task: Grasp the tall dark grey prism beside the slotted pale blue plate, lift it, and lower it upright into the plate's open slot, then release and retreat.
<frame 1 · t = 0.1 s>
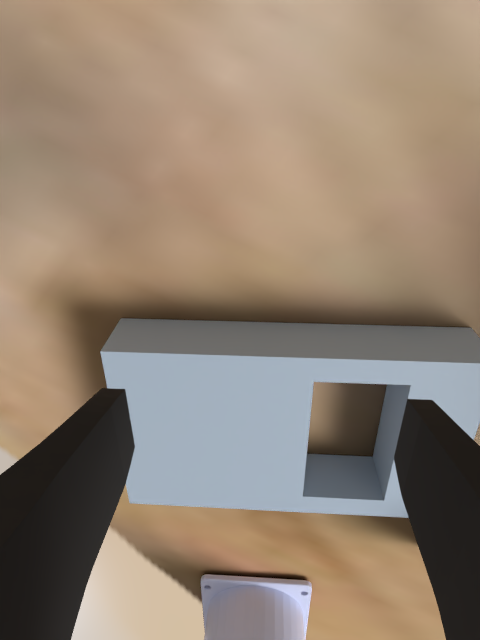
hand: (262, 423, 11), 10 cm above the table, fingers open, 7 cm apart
slotted pale blue plate: (287, 402, 24), on the table
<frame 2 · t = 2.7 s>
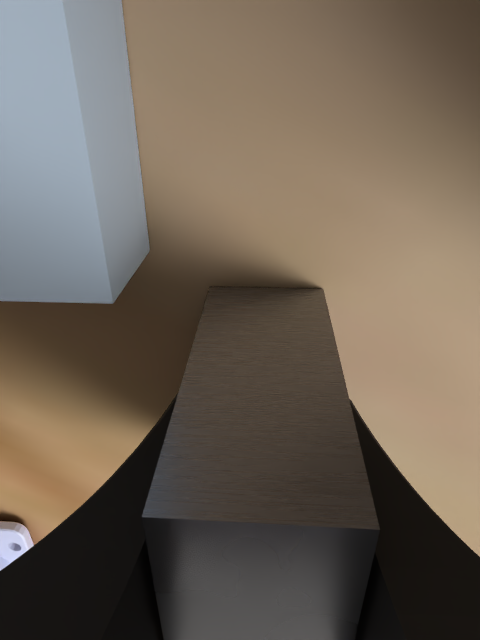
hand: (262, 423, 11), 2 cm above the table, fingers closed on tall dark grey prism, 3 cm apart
tall dark grey prism: (263, 379, 13), on the table, touching gripper
when the fingers open (4 cm above the table, at t = 5.8 s): tall dark grey prism stays where it is, resting in slotted pale blue plate.
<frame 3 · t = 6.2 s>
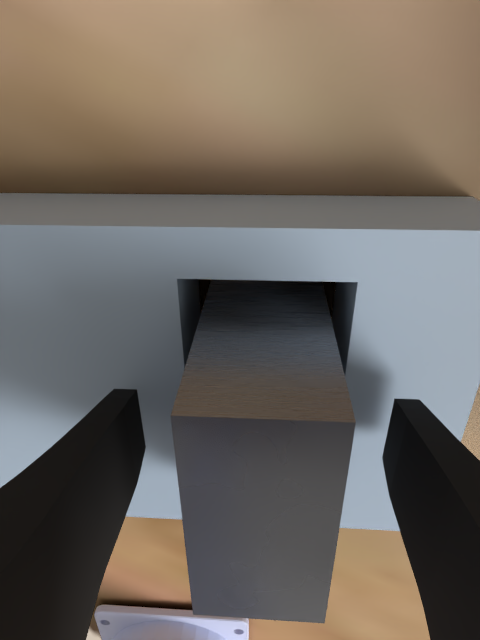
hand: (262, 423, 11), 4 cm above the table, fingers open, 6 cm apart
slotted pale blue plate: (176, 344, 15), on the table
tall dark grey prism: (265, 344, 15), resting in slotted pale blue plate
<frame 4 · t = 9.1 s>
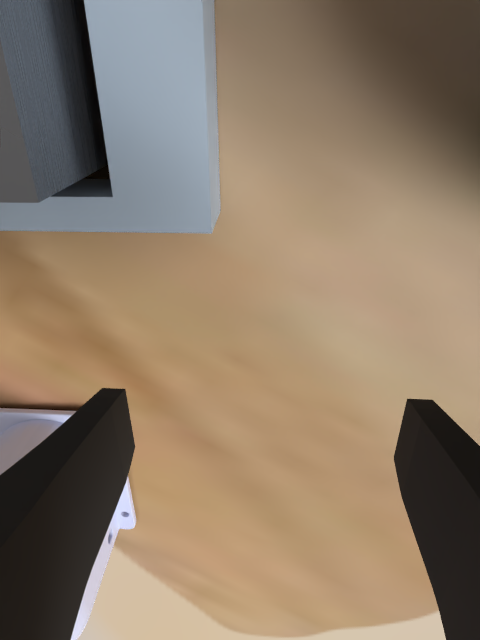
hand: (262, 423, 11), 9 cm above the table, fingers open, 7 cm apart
tall dark grey prism: (68, 72, 16), resting in slotted pale blue plate
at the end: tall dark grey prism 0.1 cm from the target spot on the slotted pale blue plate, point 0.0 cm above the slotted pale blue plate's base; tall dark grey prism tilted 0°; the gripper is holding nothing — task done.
